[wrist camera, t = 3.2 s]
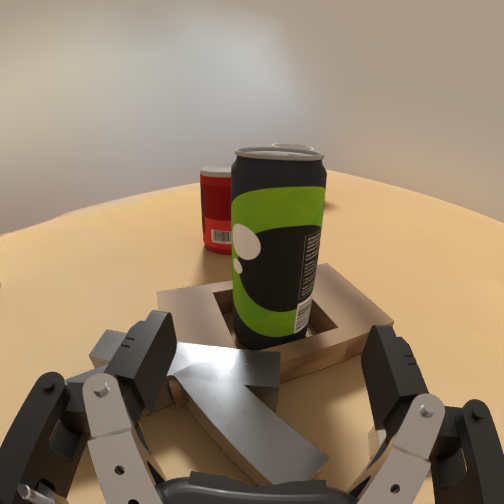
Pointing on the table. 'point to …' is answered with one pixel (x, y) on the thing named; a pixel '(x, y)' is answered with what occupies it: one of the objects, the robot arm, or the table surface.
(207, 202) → the canned food
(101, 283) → the table surface
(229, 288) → the wooden rectangular frame
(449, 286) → the table surface
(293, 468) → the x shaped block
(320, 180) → the beverage can
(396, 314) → the table surface
